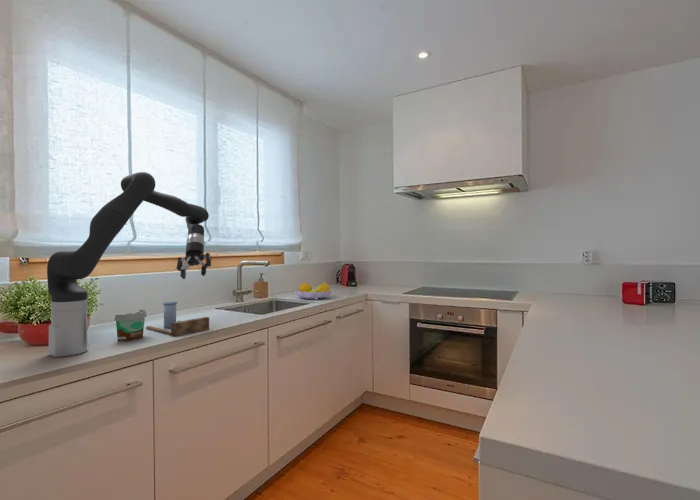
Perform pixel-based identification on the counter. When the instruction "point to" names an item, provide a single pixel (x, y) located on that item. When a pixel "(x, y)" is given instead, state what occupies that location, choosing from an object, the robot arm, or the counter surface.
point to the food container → (130, 326)
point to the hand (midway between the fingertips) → (193, 276)
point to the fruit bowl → (313, 291)
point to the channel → (184, 327)
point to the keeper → (169, 313)
